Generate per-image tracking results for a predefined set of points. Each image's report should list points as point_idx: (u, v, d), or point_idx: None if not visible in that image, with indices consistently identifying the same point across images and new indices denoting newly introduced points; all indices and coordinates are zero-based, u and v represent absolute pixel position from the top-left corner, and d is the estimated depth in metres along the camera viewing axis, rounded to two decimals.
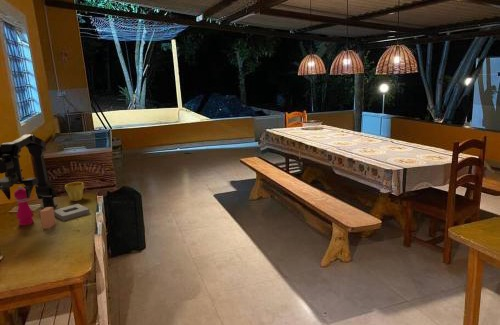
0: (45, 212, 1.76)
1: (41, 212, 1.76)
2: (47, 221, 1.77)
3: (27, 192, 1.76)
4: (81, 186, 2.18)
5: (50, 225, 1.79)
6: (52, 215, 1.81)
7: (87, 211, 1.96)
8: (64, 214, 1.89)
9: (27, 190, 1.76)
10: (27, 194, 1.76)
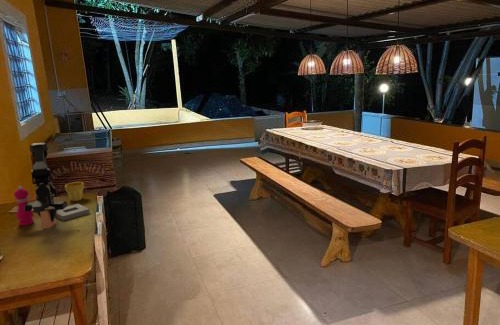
0: (45, 212, 1.76)
1: (41, 212, 1.76)
2: (47, 221, 1.77)
3: (52, 216, 1.79)
4: (81, 186, 2.18)
5: (50, 225, 1.79)
6: None
7: (87, 211, 1.96)
8: (64, 214, 1.89)
9: (52, 214, 1.78)
10: (51, 217, 1.79)
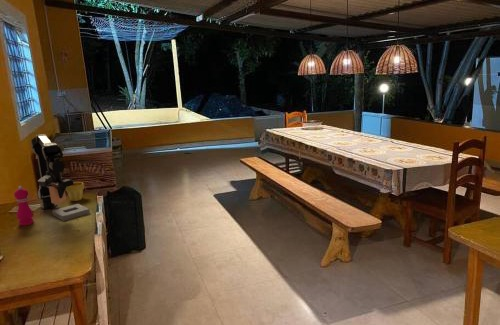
0: (52, 188, 1.82)
1: (49, 187, 1.83)
2: (54, 197, 1.83)
3: (59, 192, 1.84)
4: (81, 186, 2.18)
5: (57, 201, 1.85)
6: None
7: (87, 211, 1.96)
8: (64, 214, 1.89)
9: (58, 190, 1.83)
10: (59, 194, 1.85)
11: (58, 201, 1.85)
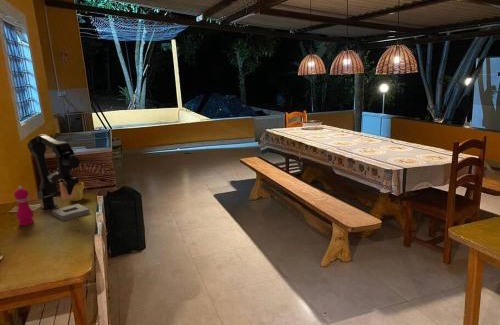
0: (61, 184, 1.90)
1: None
2: (63, 193, 1.91)
3: (67, 189, 1.91)
4: (81, 186, 2.18)
5: (65, 197, 1.92)
6: None
7: (87, 211, 1.96)
8: (64, 214, 1.89)
9: (66, 187, 1.90)
10: (67, 191, 1.91)
11: (66, 197, 1.92)
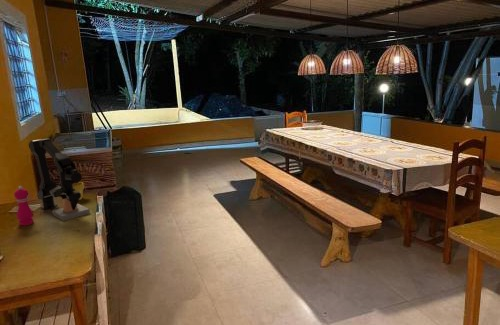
0: (64, 201, 1.92)
1: (62, 200, 1.93)
2: (65, 210, 1.93)
3: (71, 204, 1.91)
4: (81, 186, 2.18)
5: None
6: None
7: (87, 211, 1.96)
8: (64, 214, 1.89)
9: (70, 202, 1.90)
10: (71, 206, 1.91)
11: None
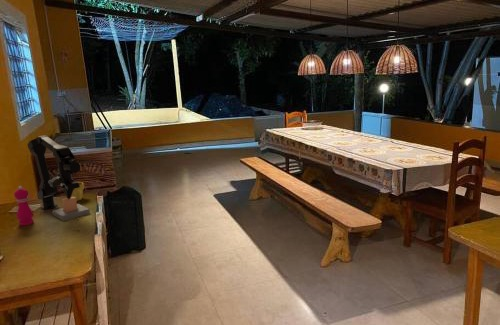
0: (64, 201, 1.92)
1: (62, 200, 1.93)
2: (65, 210, 1.93)
3: (66, 193, 1.92)
4: (81, 186, 2.18)
5: None
6: (73, 205, 1.95)
7: (87, 211, 1.96)
8: (64, 214, 1.89)
9: (66, 191, 1.92)
10: (67, 194, 1.93)
11: None
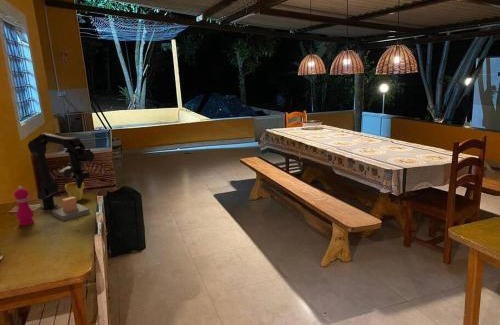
0: (64, 201, 1.92)
1: (62, 200, 1.93)
2: (65, 210, 1.93)
3: (77, 182, 1.97)
4: (81, 186, 2.18)
5: None
6: (73, 205, 1.95)
7: (87, 211, 1.96)
8: (64, 214, 1.89)
9: (76, 181, 1.96)
10: (77, 184, 1.97)
11: None
